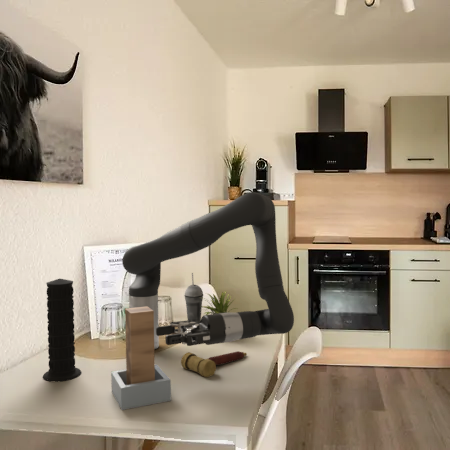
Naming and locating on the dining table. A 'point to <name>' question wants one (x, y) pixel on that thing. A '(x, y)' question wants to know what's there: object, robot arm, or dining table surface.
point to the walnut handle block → (139, 345)
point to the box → (140, 390)
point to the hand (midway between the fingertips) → (160, 335)
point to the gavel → (208, 362)
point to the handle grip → (61, 331)
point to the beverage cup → (194, 302)
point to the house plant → (218, 307)
